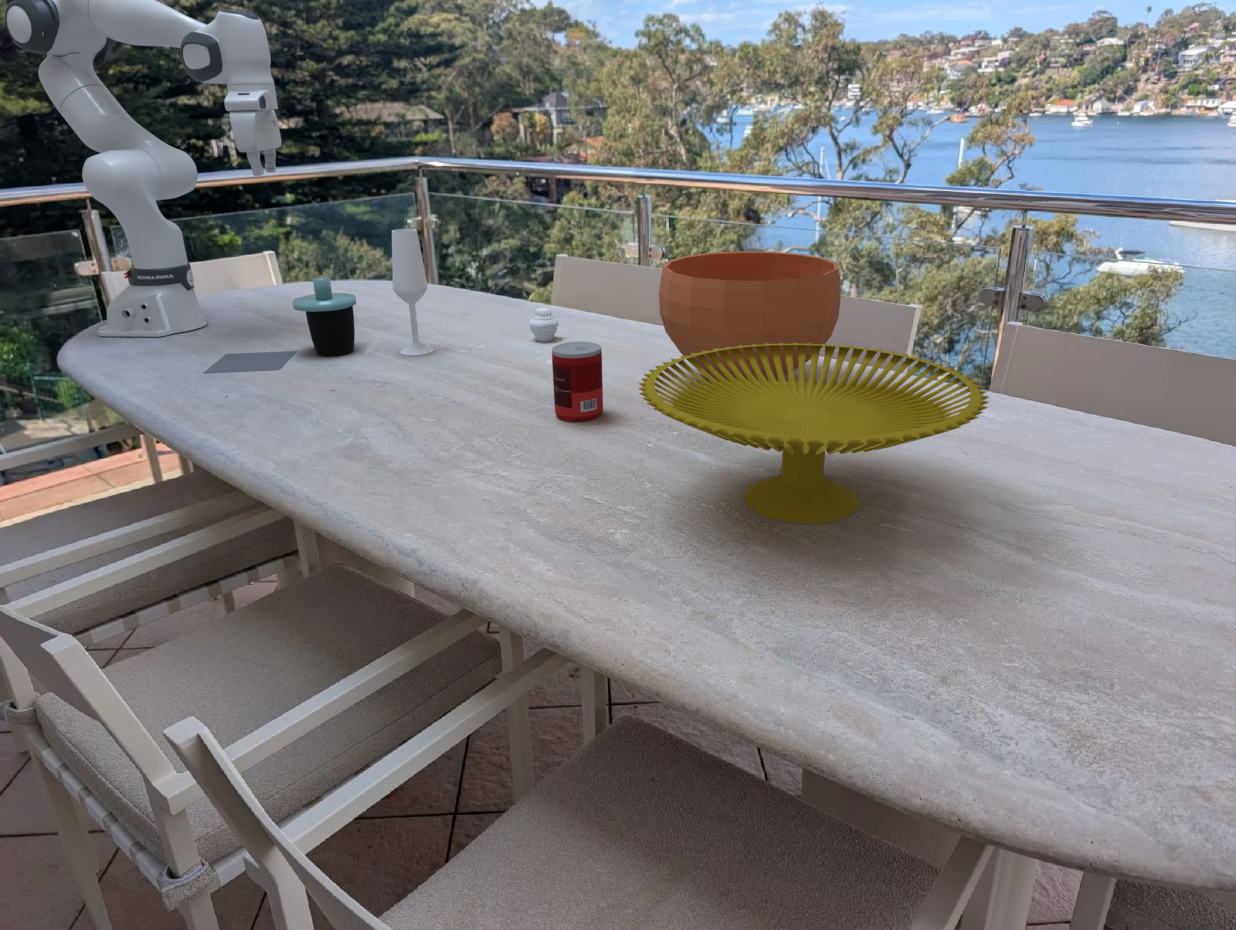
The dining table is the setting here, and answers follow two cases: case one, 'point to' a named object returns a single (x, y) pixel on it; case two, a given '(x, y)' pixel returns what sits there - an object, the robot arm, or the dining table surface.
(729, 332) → the bowl
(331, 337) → the mug
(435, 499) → the dining table surface
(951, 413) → the cake stand
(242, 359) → the mat
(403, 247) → the champagne flute
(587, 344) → the canned food
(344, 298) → the lid
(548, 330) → the white ridged rounded piece
